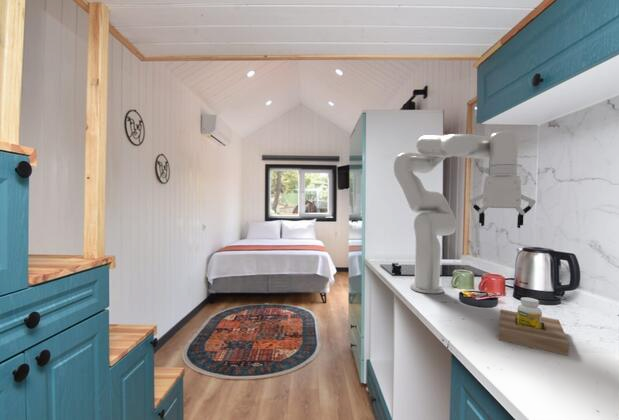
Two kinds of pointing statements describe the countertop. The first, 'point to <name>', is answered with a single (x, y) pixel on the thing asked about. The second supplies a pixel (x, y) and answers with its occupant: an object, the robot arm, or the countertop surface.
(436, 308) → the countertop surface
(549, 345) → the bottle caddy
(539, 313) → the supplement bottle
